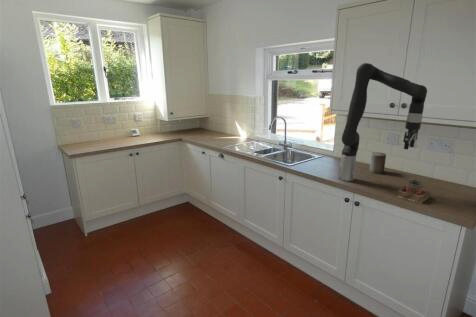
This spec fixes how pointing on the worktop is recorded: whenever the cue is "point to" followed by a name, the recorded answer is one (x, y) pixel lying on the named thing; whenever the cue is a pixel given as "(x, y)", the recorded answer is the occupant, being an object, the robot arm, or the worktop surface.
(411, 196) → the walnut holder
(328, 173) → the worktop surface
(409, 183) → the lighter
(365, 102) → the robot arm
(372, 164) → the pillar candle
